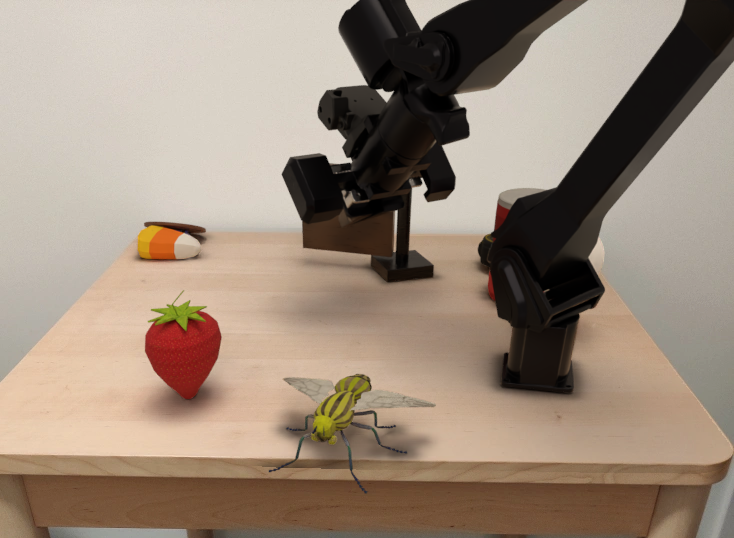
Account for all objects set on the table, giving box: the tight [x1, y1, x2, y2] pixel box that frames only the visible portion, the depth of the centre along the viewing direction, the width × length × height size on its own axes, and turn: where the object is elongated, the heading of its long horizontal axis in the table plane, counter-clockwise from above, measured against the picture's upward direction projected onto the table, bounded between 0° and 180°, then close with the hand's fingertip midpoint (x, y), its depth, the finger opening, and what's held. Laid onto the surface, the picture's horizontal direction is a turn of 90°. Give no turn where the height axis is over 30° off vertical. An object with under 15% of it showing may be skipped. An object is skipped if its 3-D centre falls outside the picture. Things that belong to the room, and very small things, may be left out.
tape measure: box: [477, 233, 493, 268], centre depth 93 cm, size 7×7×4 cm
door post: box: [370, 188, 435, 283], centre depth 89 cm, size 6×6×12 cm
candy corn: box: [136, 225, 202, 260], centre depth 96 cm, size 6×3×8 cm
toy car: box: [143, 221, 207, 236], centre depth 101 cm, size 8×8×2 cm
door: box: [301, 162, 396, 257], centre depth 90 cm, size 12×2×10 cm, turn 74°
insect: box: [268, 373, 437, 495], centre depth 59 cm, size 13×11×5 cm
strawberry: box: [144, 289, 223, 400], centre depth 63 cm, size 6×8×10 cm
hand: (342, 223), depth 85 cm, fingers closed
